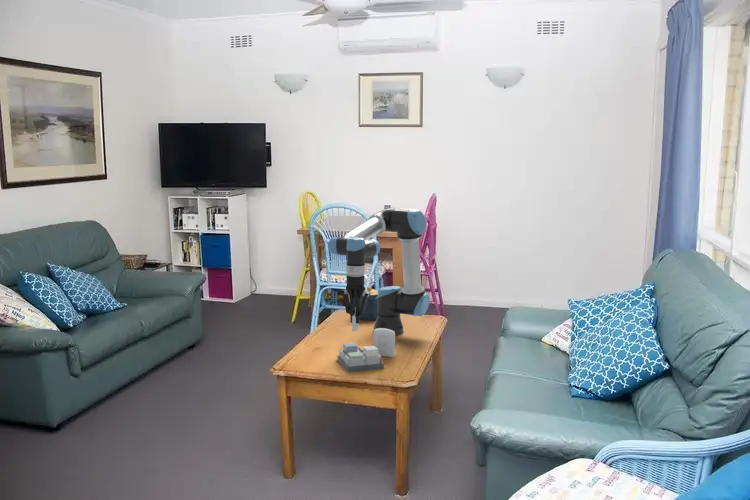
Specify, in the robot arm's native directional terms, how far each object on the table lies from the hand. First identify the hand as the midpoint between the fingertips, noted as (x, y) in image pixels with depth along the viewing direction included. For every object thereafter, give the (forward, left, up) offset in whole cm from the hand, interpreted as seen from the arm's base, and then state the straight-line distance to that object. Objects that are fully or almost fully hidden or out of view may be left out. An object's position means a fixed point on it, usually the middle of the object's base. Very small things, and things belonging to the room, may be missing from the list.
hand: (355, 330), depth 260 cm
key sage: (0, 0, -14) cm, 14 cm away
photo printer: (-17, -12, -17) cm, 27 cm away
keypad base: (-3, -3, -16) cm, 17 cm away
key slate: (0, -7, -12) cm, 14 cm away
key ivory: (-7, 0, -12) cm, 14 cm away
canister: (-31, -76, -17) cm, 84 cm away
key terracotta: (-7, -7, -14) cm, 17 cm away
